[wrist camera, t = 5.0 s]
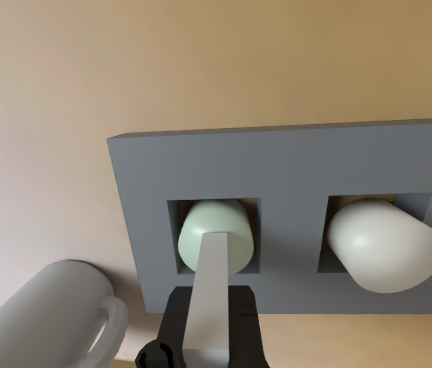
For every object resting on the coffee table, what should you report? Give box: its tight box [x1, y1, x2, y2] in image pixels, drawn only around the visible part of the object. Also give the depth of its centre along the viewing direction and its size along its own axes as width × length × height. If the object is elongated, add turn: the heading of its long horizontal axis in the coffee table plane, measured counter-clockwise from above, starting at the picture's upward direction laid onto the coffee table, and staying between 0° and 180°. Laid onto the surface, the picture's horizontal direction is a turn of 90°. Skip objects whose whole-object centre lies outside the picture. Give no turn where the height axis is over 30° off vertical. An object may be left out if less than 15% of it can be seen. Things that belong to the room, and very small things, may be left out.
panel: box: [106, 119, 432, 314], centre depth 15 cm, size 32×14×2 cm, turn 93°
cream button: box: [326, 198, 432, 293], centre depth 13 cm, size 5×5×3 cm
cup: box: [0, 260, 129, 368], centre depth 16 cm, size 7×10×9 cm
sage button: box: [178, 198, 254, 276], centre depth 15 cm, size 5×5×3 cm
